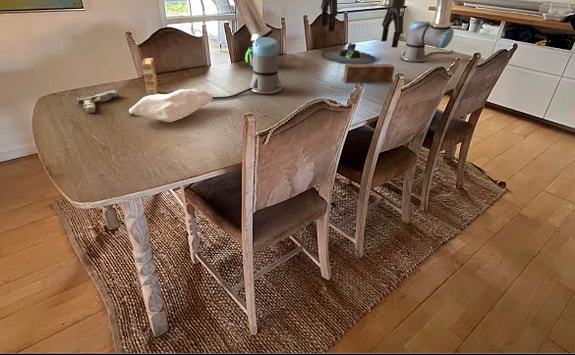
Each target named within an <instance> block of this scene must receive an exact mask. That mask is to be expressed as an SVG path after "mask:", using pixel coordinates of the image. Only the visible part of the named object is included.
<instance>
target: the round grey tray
mask: <svg viewBox="0 0 575 355" xmlns="http://www.w3.org/2000/svg"><path fill="white" fill-rule="evenodd" d="M356 45H357V43H352V42H349V43H348V44H347V47H346V48H340V50H339V49H334V50H327V51H324V52H322V53H321V56H322V57H323V58H325V59H327V60H330V61H332V62H333V61H334V62H339V63H347V64H369V63H372V62H374V61H375V60H376V59H377V58H376V56H373V55H371V54H370V53H366V52H361V51H360V50H356V47H357V46H356Z"/></svg>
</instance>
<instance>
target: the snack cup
mask: <svg viewBox="0 0 575 355" xmlns="http://www.w3.org/2000/svg"><path fill="white" fill-rule="evenodd" d="M244 60H245V62H246V63H250V67H252V68H253V46H249V47H248V49H247V51H246V52H245V57H244Z"/></svg>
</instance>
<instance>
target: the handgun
mask: <svg viewBox="0 0 575 355" xmlns="http://www.w3.org/2000/svg"><path fill="white" fill-rule="evenodd" d="M119 96H120V94H119V92H118V91H117V90H116V89H112V90H108V91H105V92H104V91H103V92H101V93H96V94H94V95H86V94H85V95H84V94H83V95H81V96H80V97H77V98H76V101H77V104H78V105H82V108H83V109H84V110H85V113H87V114H91V113H95V112H96V104H95V103H98V102H106V101H109V100H111V99H113V98H117V97H119Z"/></svg>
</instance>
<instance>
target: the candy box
mask: <svg viewBox="0 0 575 355" xmlns="http://www.w3.org/2000/svg"><path fill="white" fill-rule="evenodd" d="M141 66H142V73H143V78H144V82H145V87H146V92H147V96H150V95H156V94H159V91H160V90H159V84H158V79H157V73H156V66H155V62H154V58H153V57H151V58H150V57H149V58H146V57H145V58H143V60H142V63H141Z"/></svg>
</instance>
